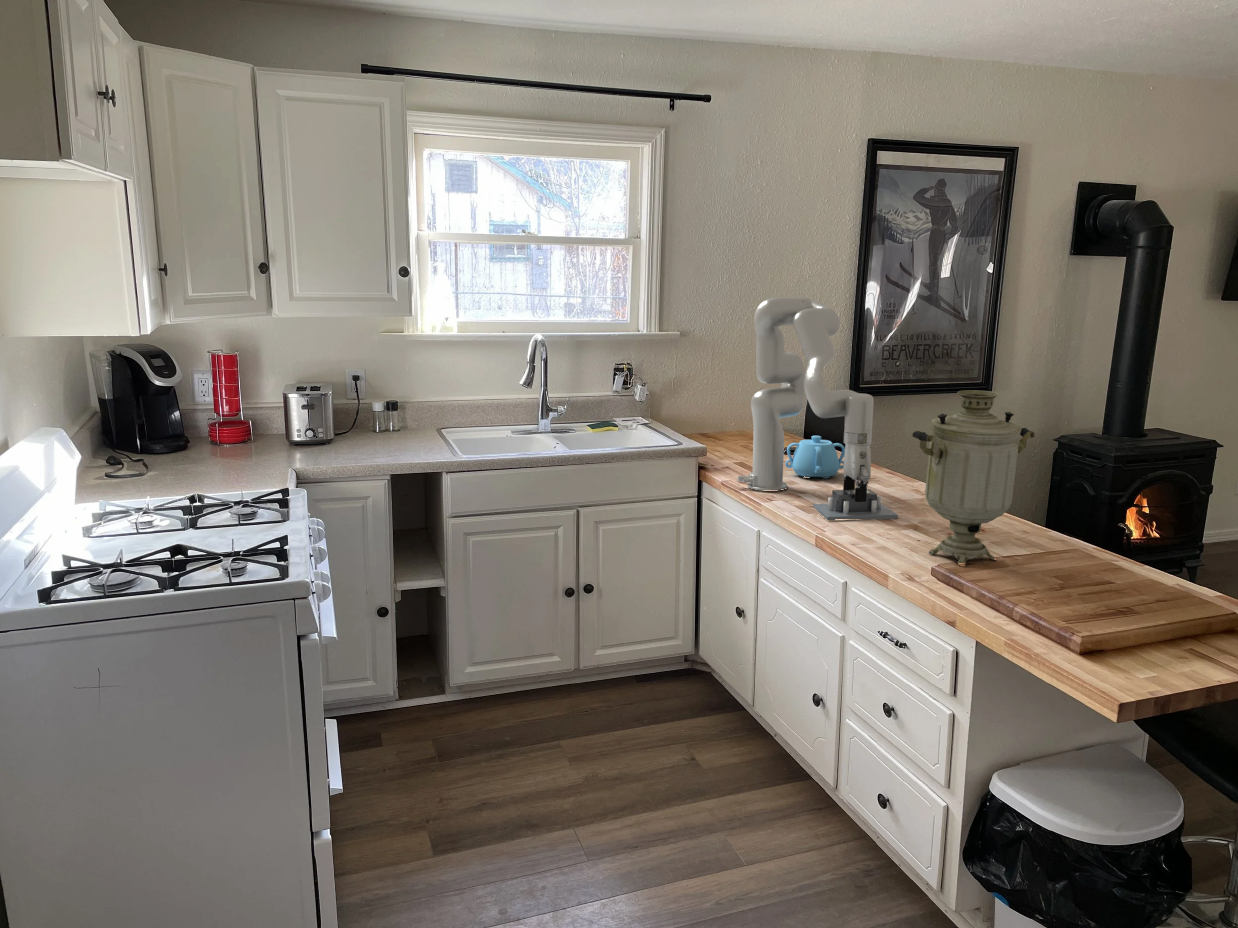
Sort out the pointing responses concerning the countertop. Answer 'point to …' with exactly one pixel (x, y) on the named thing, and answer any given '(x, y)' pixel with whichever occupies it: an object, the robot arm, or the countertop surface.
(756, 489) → the robot arm
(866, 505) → the drive
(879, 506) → the peg board
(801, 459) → the decorative pot
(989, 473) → the samovar
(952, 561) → the countertop surface
